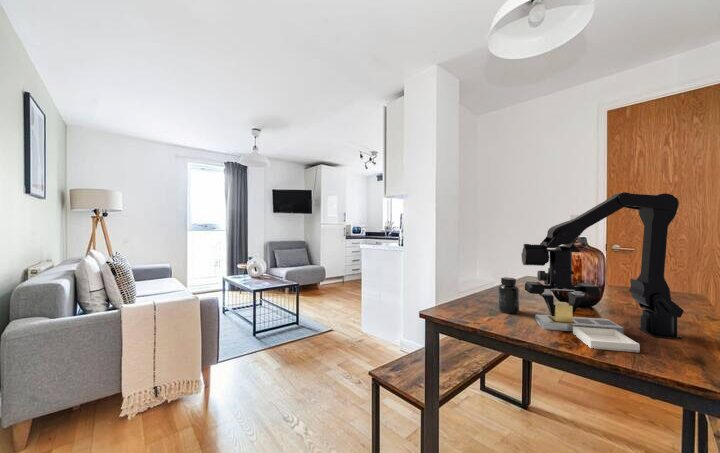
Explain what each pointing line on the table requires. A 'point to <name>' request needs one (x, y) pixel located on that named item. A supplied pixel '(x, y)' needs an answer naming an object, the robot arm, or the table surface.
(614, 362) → the table surface
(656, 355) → the table surface
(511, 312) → the supplement bottle
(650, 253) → the robot arm
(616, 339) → the tray
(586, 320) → the grey flat plate
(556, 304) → the wood grain block
